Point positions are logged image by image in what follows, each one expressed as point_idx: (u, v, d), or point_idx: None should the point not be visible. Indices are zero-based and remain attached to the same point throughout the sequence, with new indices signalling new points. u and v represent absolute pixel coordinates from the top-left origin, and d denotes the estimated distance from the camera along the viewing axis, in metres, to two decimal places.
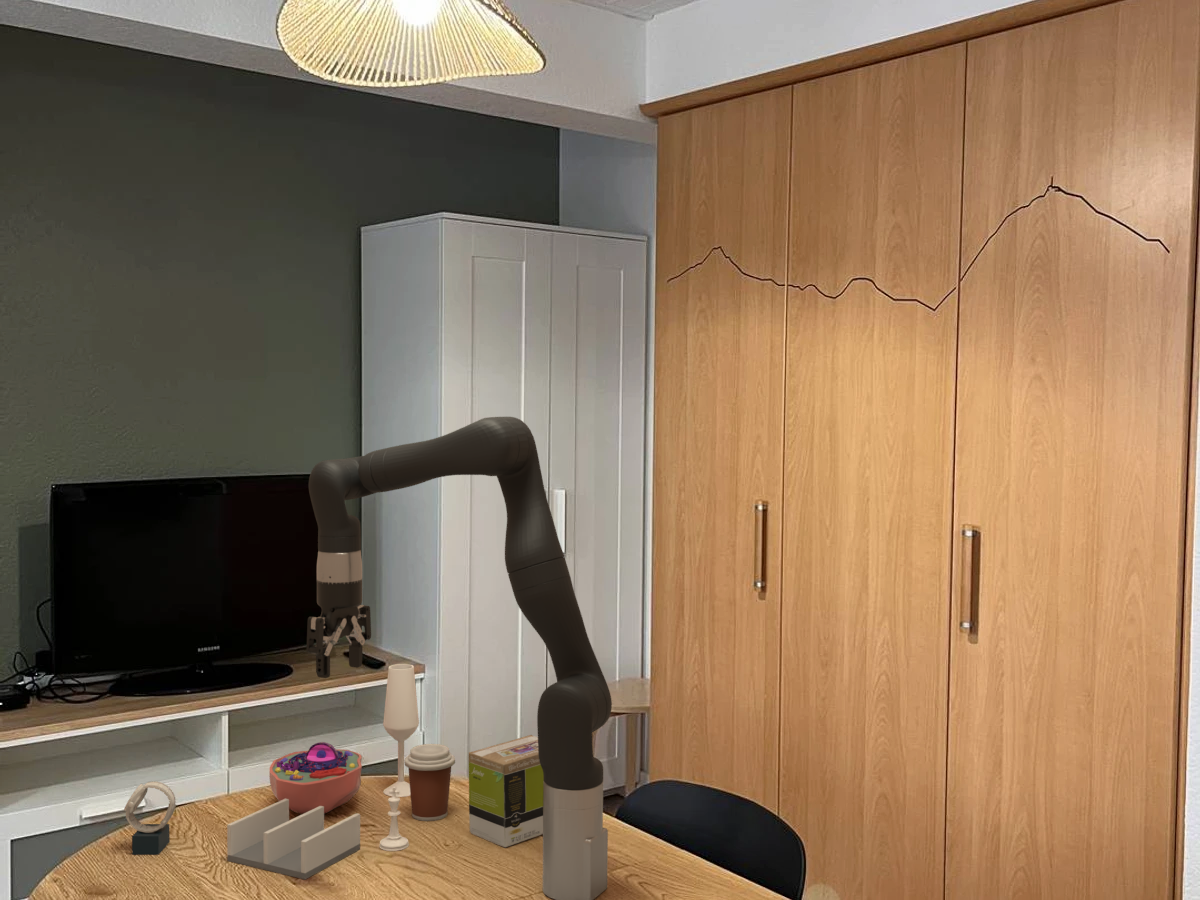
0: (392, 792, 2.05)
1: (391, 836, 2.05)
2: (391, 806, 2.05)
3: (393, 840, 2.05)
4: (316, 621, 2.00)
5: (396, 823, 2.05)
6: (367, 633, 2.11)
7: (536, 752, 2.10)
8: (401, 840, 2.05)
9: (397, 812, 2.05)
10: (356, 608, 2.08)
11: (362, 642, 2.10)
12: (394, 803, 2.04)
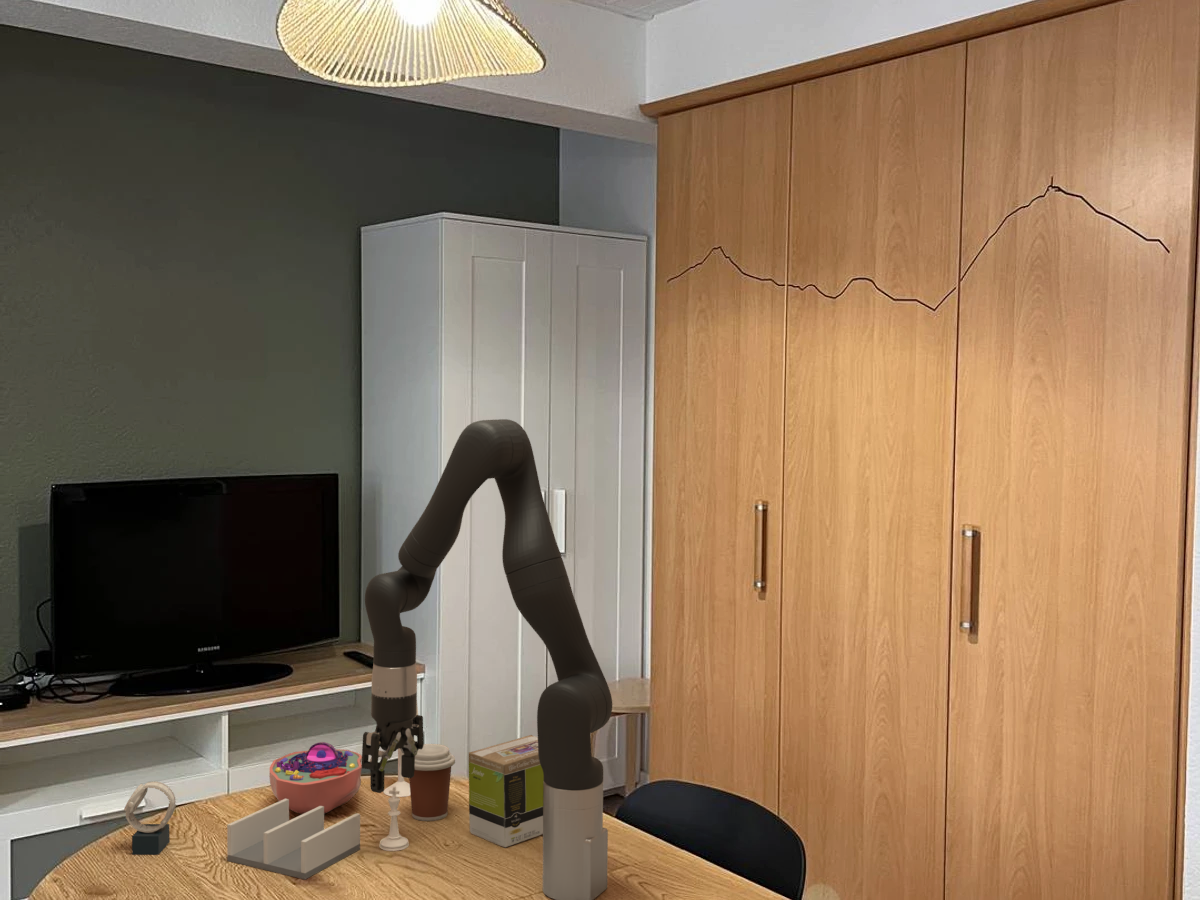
0: (392, 792, 2.05)
1: (391, 836, 2.05)
2: (391, 806, 2.05)
3: (393, 840, 2.05)
4: (372, 737, 1.98)
5: (396, 823, 2.05)
6: (419, 743, 2.10)
7: (536, 752, 2.10)
8: (401, 840, 2.05)
9: (397, 812, 2.05)
10: (410, 719, 2.07)
11: (415, 753, 2.09)
12: (394, 803, 2.04)
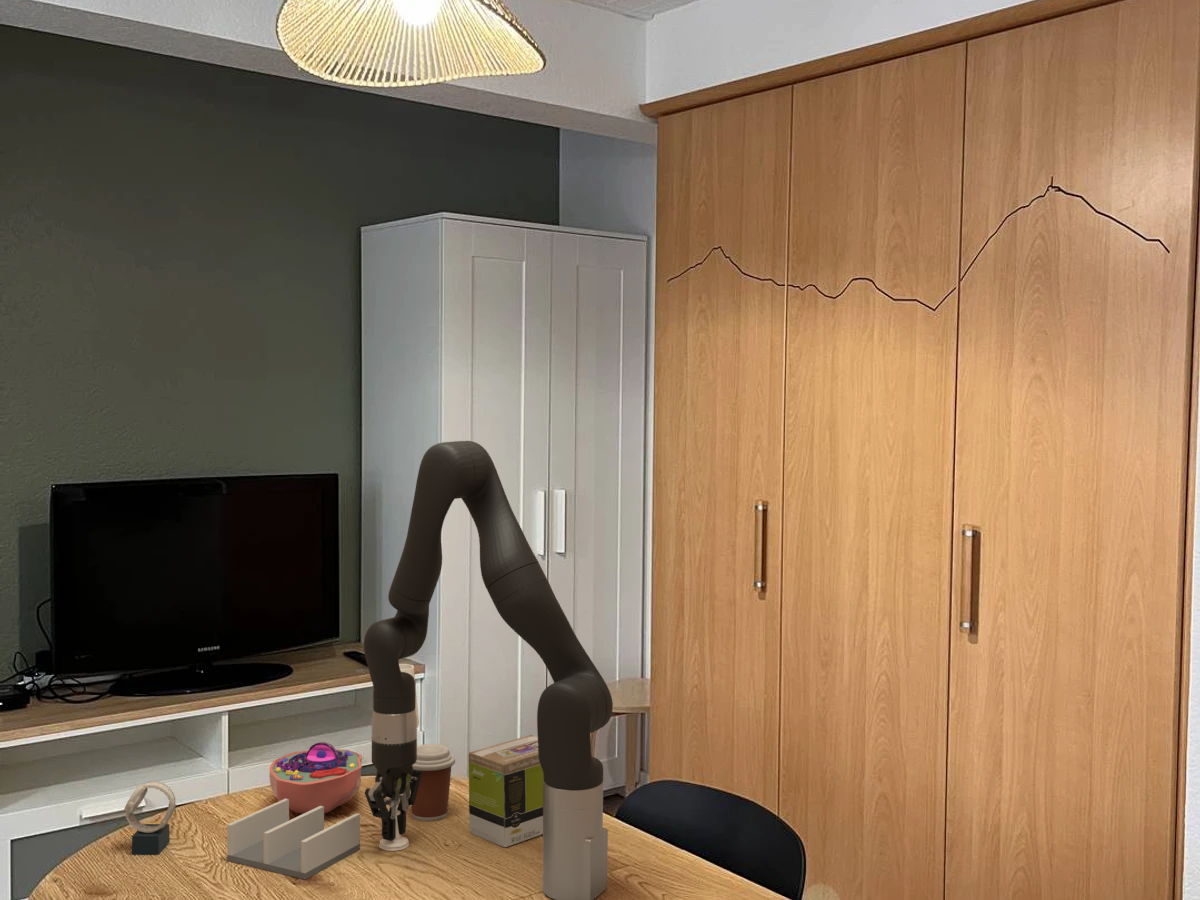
0: None
1: None
2: None
3: (393, 840, 2.05)
4: (374, 796, 1.99)
5: (396, 823, 2.05)
6: (411, 798, 2.08)
7: (536, 752, 2.10)
8: (401, 840, 2.05)
9: (397, 812, 2.05)
10: (411, 765, 2.08)
11: (406, 809, 2.07)
12: None
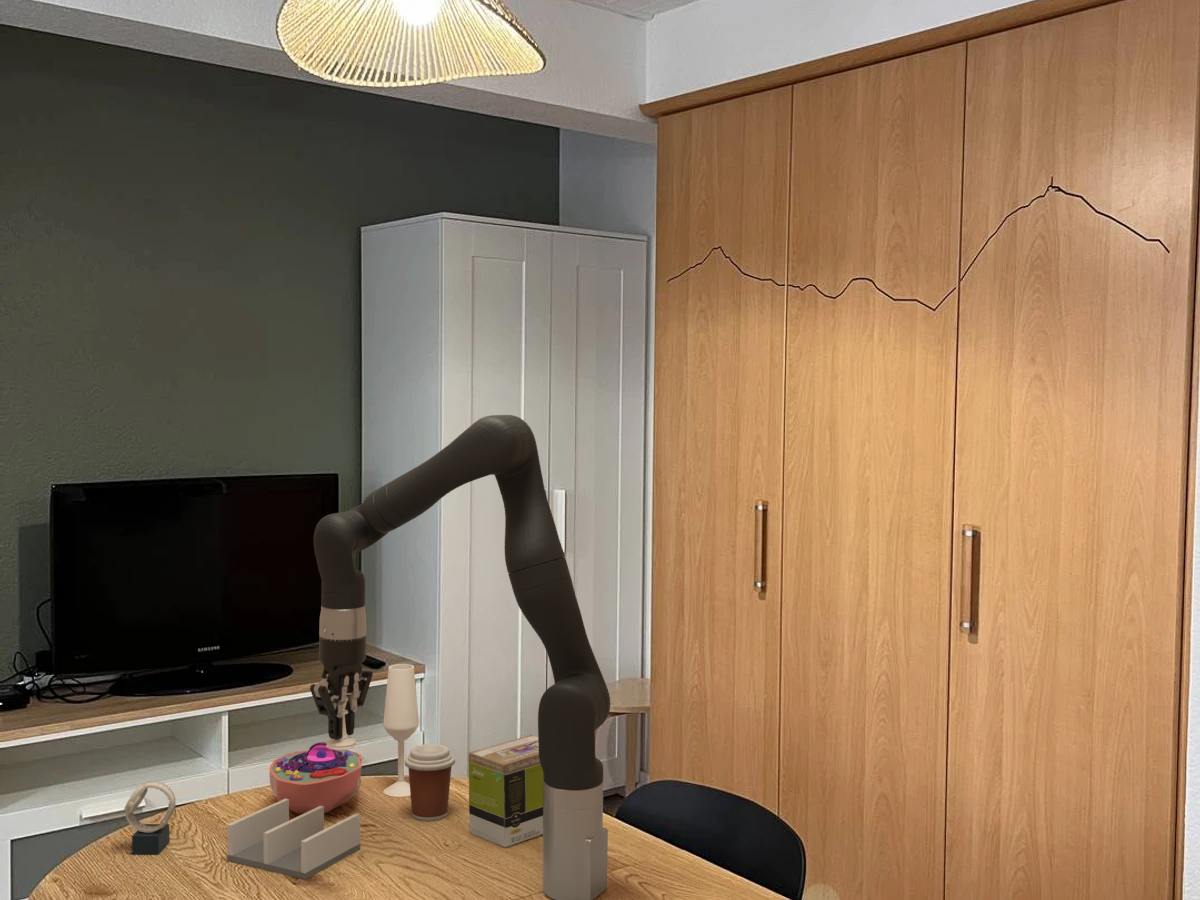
0: None
1: None
2: None
3: (339, 740, 2.00)
4: (319, 691, 1.95)
5: (343, 722, 2.01)
6: (361, 698, 2.03)
7: (536, 752, 2.10)
8: (348, 740, 2.01)
9: (345, 711, 2.01)
10: (361, 665, 2.03)
11: (354, 709, 2.02)
12: None
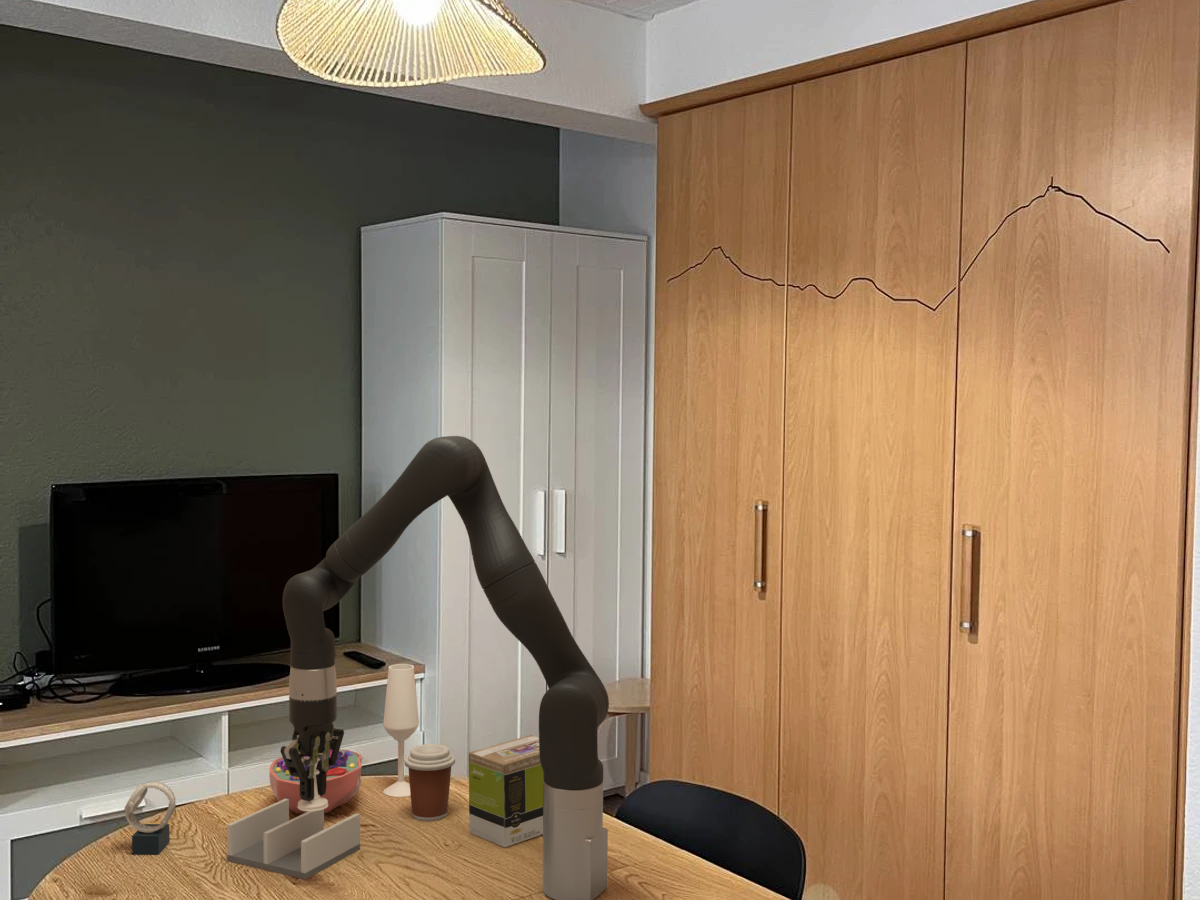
0: None
1: None
2: None
3: (311, 801, 1.98)
4: (289, 753, 1.92)
5: (315, 783, 1.99)
6: (332, 757, 2.01)
7: (536, 752, 2.10)
8: (319, 800, 1.98)
9: (316, 771, 1.98)
10: (332, 723, 2.01)
11: (326, 769, 2.00)
12: None
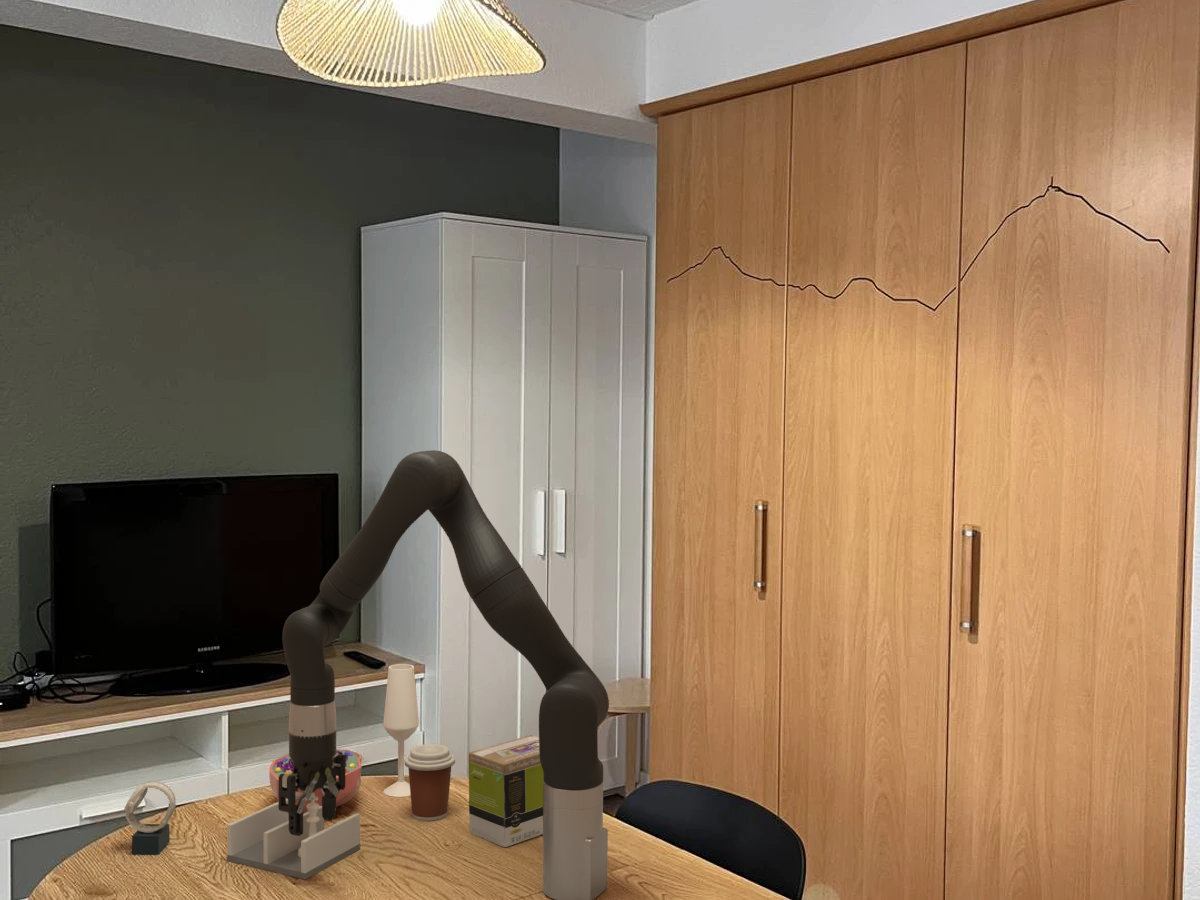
0: (311, 798, 1.99)
1: None
2: (310, 812, 1.98)
3: None
4: (287, 779, 1.92)
5: (315, 830, 1.99)
6: (341, 784, 2.04)
7: (536, 752, 2.10)
8: None
9: (316, 819, 1.99)
10: (330, 758, 2.01)
11: (336, 793, 2.02)
12: (312, 809, 1.98)
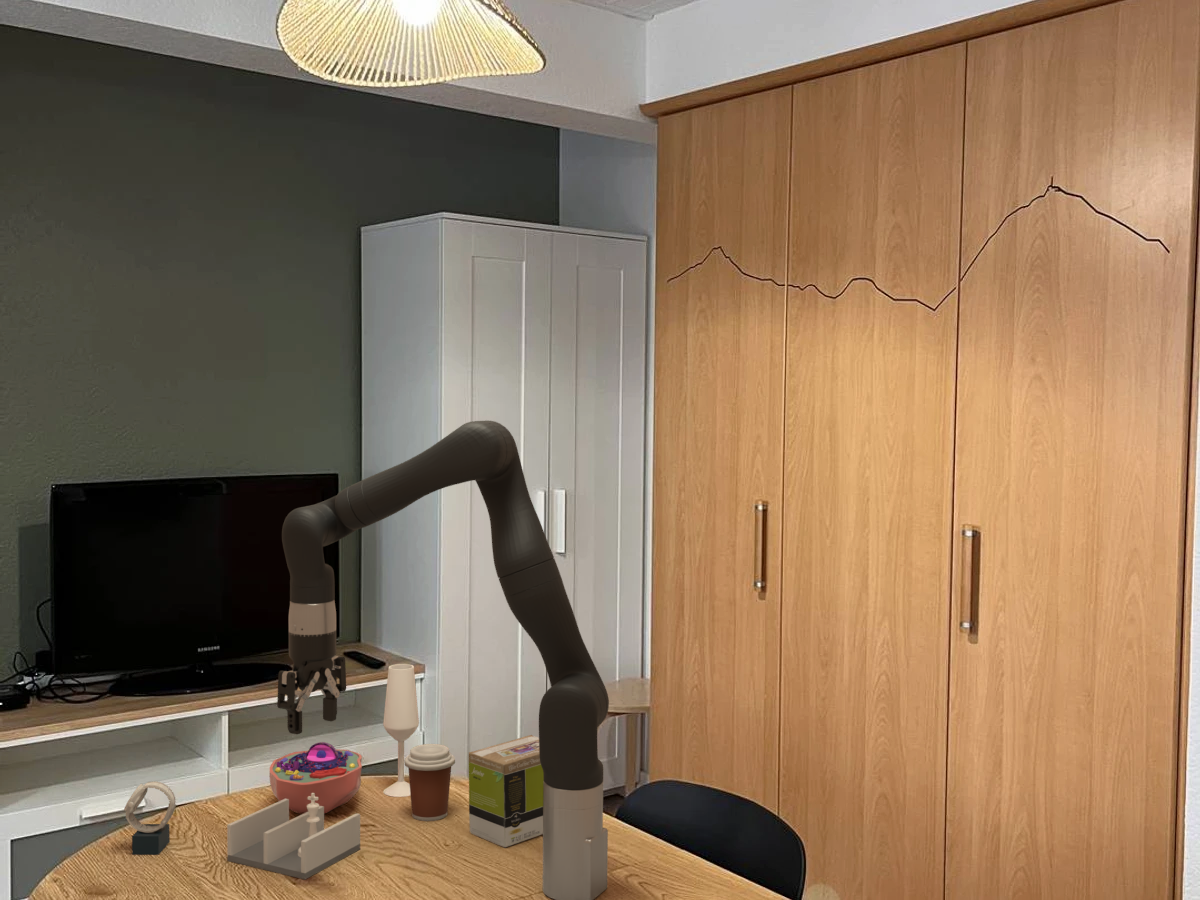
0: (311, 798, 1.99)
1: None
2: (310, 812, 1.98)
3: None
4: (287, 676, 1.91)
5: (315, 830, 1.99)
6: (341, 685, 2.03)
7: (536, 752, 2.10)
8: None
9: (316, 819, 1.99)
10: (330, 660, 2.00)
11: (336, 695, 2.02)
12: (313, 809, 1.98)
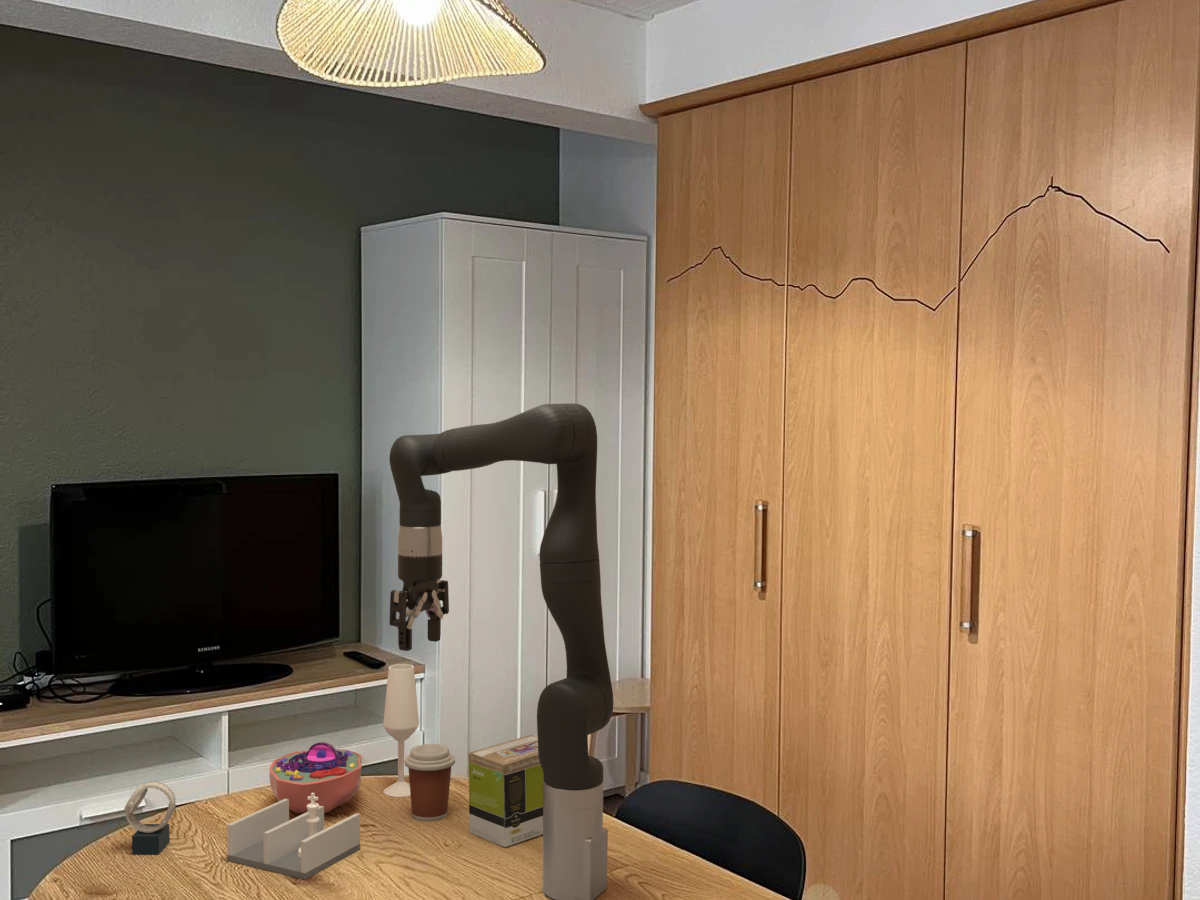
0: (311, 798, 1.99)
1: None
2: (309, 812, 1.98)
3: None
4: (399, 594, 2.02)
5: (315, 830, 1.99)
6: (445, 608, 2.13)
7: (536, 752, 2.10)
8: None
9: (316, 819, 1.99)
10: (435, 582, 2.11)
11: (441, 616, 2.12)
12: (312, 809, 1.98)
